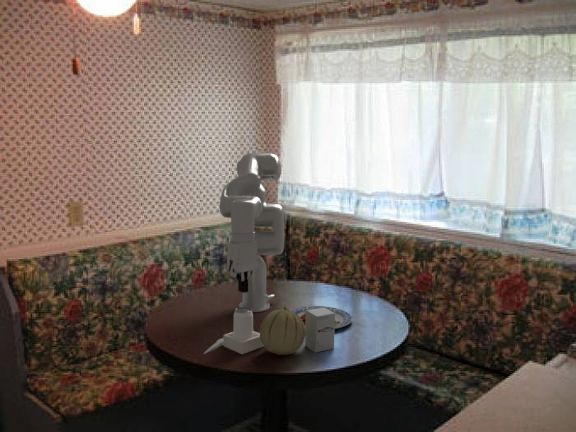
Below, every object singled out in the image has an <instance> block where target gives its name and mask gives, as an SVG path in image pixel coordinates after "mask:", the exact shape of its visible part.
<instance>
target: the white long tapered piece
mask: <svg viewBox="0 0 576 432" xmlns="http://www.w3.org/2000/svg"><path fill="white" fill-rule="evenodd" d="M221 346H224V338H223V337H222V338H219V339H217V340H216V342H215V343H214V344H212V345H211V346H210V347H209V348H207V350H206V351H204V353H203V355H206V354H207V353H209V352H212V351H214V350H216V349H219V347H221Z"/></svg>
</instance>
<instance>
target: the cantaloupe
mask: <svg viewBox="0 0 576 432" xmlns="http://www.w3.org/2000/svg"><path fill="white" fill-rule="evenodd" d="M259 333H260V339H261V341H262V343H263V345H264V346H263V347H264V348H265V350H267V351H268V352H270V353H271V354H275V355H278V356H287V355H288V356H289V355H292V354H293V353H295V352H296V351H298V350H299V349H300V348H301V346H302V345H303V343H304V342H305V326H304V323H303V321H302V319H301V318H300V317H299V316H298V315H297V314H296V313H294V312H291V311H290V310H288V308H287V306H283V309H275V310H273V311H271V312H269V313H268V314H267V315H266V316H265V317H264V318H263V319H262V321H261V323H260V327H259Z"/></svg>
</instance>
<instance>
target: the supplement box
mask: <svg viewBox="0 0 576 432" xmlns="http://www.w3.org/2000/svg"><path fill="white" fill-rule="evenodd" d="M334 327H335V313H333V312H332V311H330V310H328V309H326V308H318V309H311V310H306V323H305V338H304V345H305V346H306V348H308V349H309V350H311V351H312V352H314V353H315V354H316V353H320V352H324V351H329V350H334V349H335V329H334Z"/></svg>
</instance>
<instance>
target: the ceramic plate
mask: <svg viewBox="0 0 576 432" xmlns="http://www.w3.org/2000/svg"><path fill="white" fill-rule="evenodd" d="M318 308H326V309H328V310H330V311H332V312H333V313H335V327H334V330H335V329H340V328H343V327H344V328H345V327H346V326H347V325H349V324H351V323H352V321H353V317H352V315H351V314H350V313H349V312H348V311H346V310H343V309H340V308H336V307H331V306H324V305H307V306H301V307H300V306H299V307H296V308H292V309H290V310H289V311H291V312H294V313H296V314H297V315H298V316H299V317H300V318H301V319H302V321H303V323H304V326H305V323H306V310H311V309H318Z"/></svg>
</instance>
